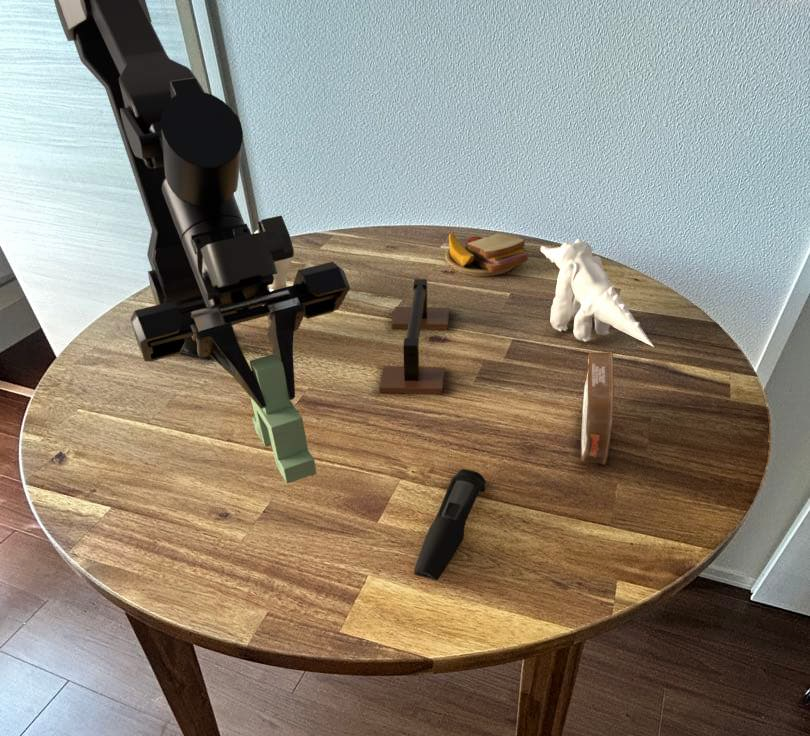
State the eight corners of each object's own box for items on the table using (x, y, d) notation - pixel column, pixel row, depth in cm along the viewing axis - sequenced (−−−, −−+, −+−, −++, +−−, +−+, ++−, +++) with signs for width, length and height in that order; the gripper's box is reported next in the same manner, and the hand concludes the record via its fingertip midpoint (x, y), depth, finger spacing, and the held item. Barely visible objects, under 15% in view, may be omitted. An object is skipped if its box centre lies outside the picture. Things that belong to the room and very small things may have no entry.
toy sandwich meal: (499, 241, 113) (502, 212, 109) (537, 272, 104) (541, 242, 100) (433, 254, 110) (433, 225, 106) (466, 287, 101) (467, 257, 98)
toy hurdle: (379, 392, 82) (376, 351, 78) (395, 311, 97) (393, 273, 92) (442, 394, 82) (442, 353, 77) (448, 312, 96) (449, 274, 92)
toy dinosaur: (553, 295, 98) (564, 219, 90) (666, 370, 84) (691, 287, 76) (516, 306, 96) (524, 229, 88) (624, 385, 82) (645, 301, 74)
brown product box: (604, 480, 70) (620, 416, 64) (574, 477, 70) (587, 413, 64) (604, 400, 80) (618, 338, 74) (577, 397, 80) (590, 335, 74)
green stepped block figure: (255, 431, 66) (233, 342, 59) (283, 422, 67) (265, 334, 60) (287, 484, 61) (267, 393, 53) (316, 473, 61) (301, 383, 54)
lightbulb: (309, 297, 100) (298, 224, 92) (282, 315, 97) (269, 240, 89) (277, 288, 103) (264, 216, 95) (250, 305, 99) (235, 231, 91)
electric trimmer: (403, 585, 61) (402, 563, 59) (454, 479, 71) (455, 457, 68) (441, 596, 60) (441, 574, 58) (488, 487, 70) (490, 465, 67)
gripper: (89, 208, 46) (171, 415, 48) (329, 161, 52) (397, 347, 53) (109, 273, 57) (176, 441, 58) (307, 228, 63) (363, 382, 64)
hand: (278, 403), depth 58 cm, fingers closed on green stepped block figure, 2 cm apart
